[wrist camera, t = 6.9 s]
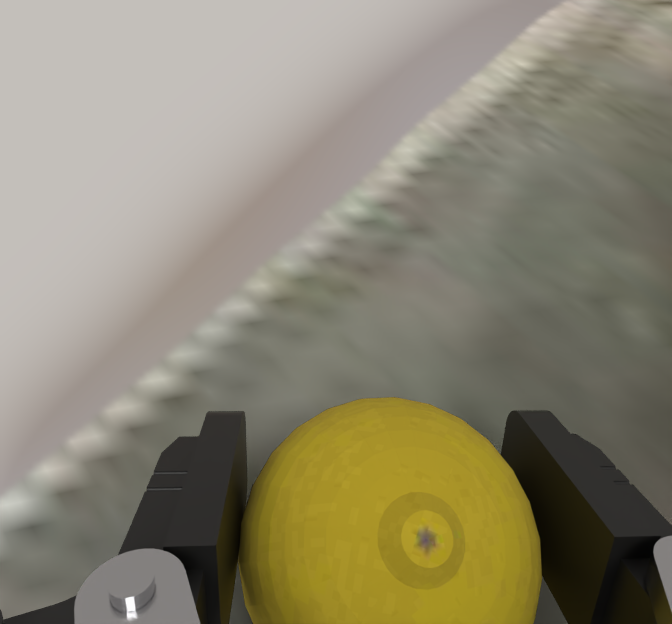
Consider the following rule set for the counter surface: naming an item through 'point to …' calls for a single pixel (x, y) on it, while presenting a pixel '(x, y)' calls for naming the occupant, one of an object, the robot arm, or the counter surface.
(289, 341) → the counter surface
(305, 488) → the lemon
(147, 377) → the counter surface
